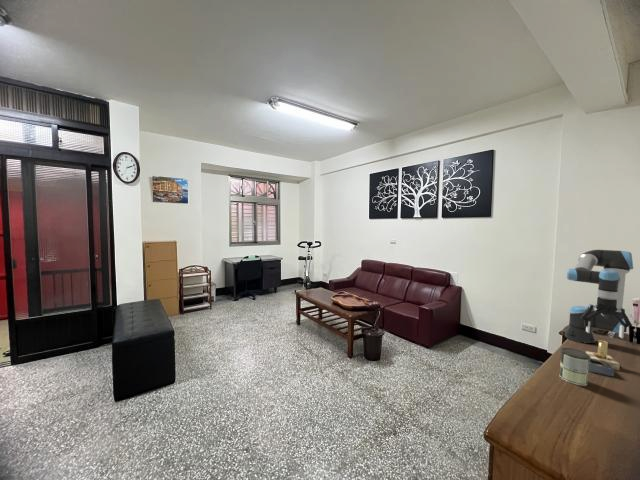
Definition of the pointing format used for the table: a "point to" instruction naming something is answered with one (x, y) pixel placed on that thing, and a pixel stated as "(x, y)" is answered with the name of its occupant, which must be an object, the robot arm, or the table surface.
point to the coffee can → (574, 366)
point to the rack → (609, 360)
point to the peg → (602, 349)
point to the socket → (600, 367)
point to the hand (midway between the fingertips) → (603, 334)
